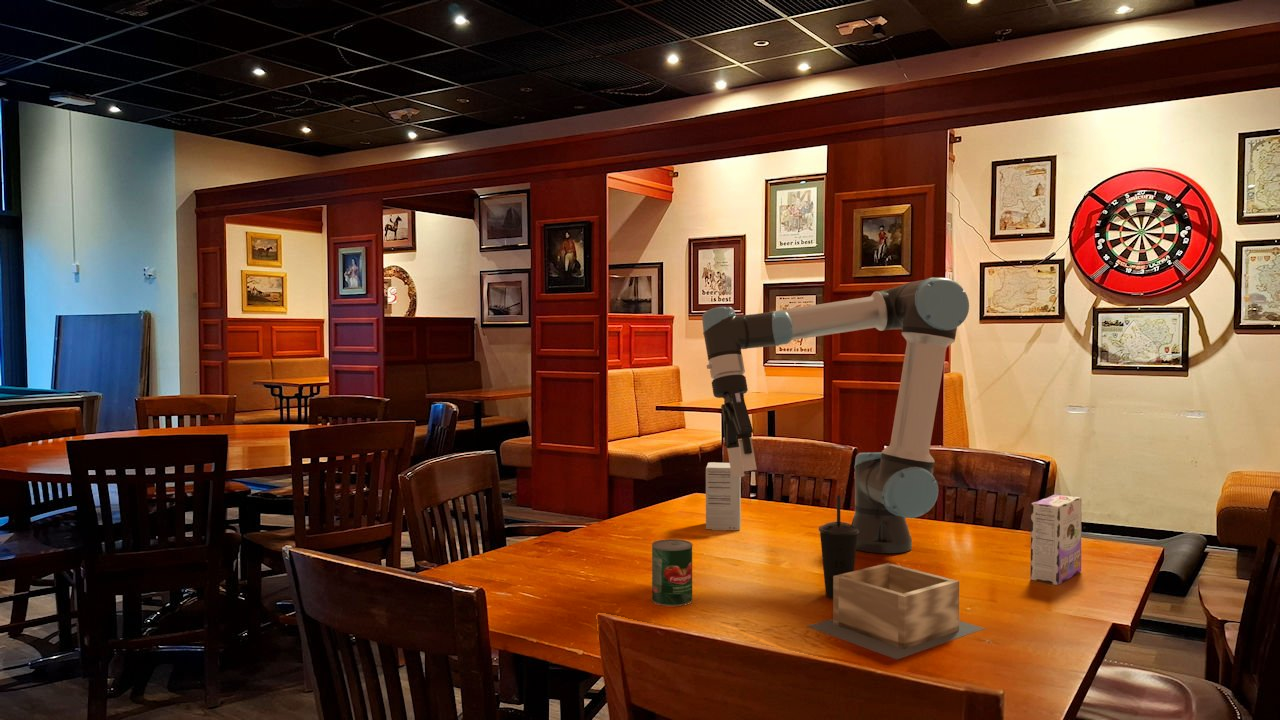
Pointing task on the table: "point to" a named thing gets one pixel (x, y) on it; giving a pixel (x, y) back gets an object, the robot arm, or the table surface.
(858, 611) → the holder
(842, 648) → the table surface
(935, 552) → the table surface
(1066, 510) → the candy box
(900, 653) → the mat
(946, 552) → the table surface
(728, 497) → the supplement box
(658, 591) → the canned tomato
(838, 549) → the drinking cup
